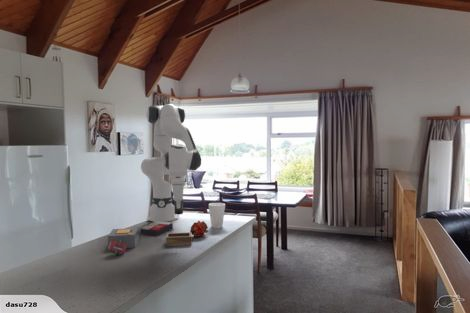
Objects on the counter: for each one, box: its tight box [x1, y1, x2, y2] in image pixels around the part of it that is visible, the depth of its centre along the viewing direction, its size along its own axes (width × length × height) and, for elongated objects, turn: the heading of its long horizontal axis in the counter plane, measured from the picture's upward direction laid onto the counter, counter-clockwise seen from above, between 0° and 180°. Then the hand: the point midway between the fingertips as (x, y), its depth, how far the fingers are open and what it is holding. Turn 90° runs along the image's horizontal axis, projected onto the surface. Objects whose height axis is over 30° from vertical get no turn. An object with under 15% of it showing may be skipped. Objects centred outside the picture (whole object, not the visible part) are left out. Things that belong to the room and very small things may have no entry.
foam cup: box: [208, 202, 226, 229], centre depth 196 cm, size 10×9×13 cm
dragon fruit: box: [190, 220, 209, 238], centre depth 177 cm, size 8×8×12 cm
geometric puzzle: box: [108, 240, 128, 257], centre depth 150 cm, size 7×7×8 cm
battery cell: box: [173, 197, 184, 215], centre depth 165 cm, size 4×4×10 cm
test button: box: [116, 228, 131, 234], centre depth 164 cm, size 6×6×3 cm
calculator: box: [139, 221, 174, 237], centre depth 187 cm, size 11×4×15 cm
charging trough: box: [165, 232, 193, 247], centre depth 166 cm, size 8×12×4 cm, turn 98°
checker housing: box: [107, 227, 139, 250], centre depth 164 cm, size 12×12×6 cm
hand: (178, 207), depth 165 cm, fingers closed on battery cell, 4 cm apart
